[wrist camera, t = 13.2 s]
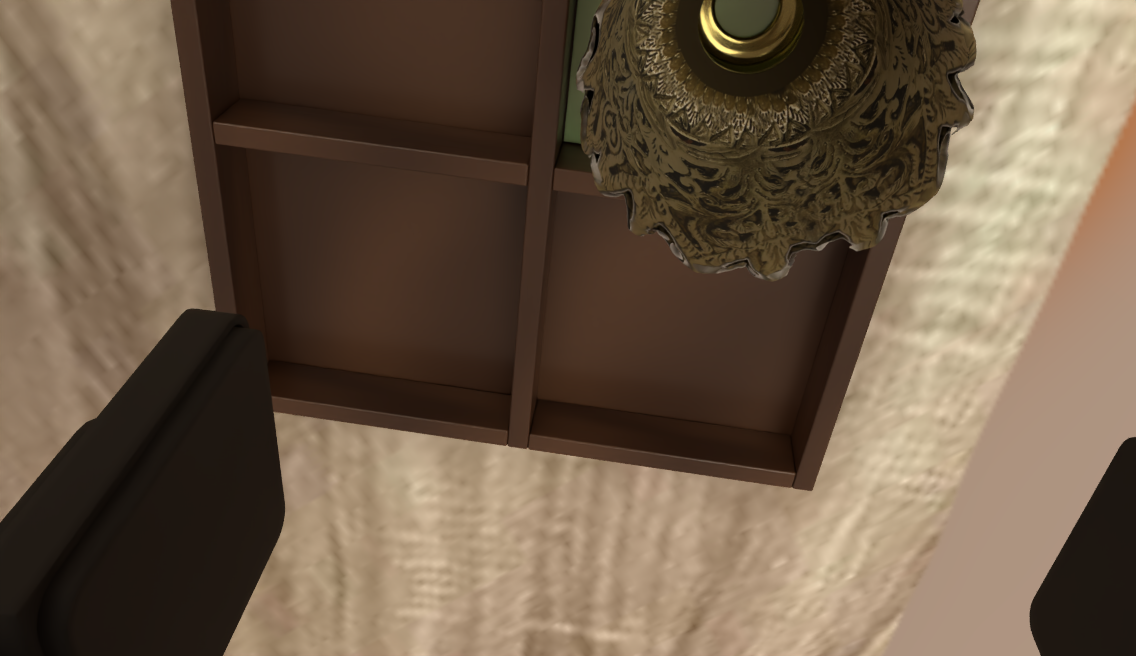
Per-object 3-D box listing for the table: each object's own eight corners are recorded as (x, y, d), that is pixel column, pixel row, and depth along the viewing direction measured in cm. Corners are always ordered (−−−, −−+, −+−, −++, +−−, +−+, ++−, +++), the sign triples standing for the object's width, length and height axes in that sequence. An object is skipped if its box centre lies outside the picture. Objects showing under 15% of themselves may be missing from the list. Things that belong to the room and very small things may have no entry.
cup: (855, -212, 21) (934, -184, 14) (923, 82, 24) (1012, 214, 18) (560, -77, 23) (510, 0, 16) (661, 173, 27) (653, 321, 20)
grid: (258, 362, 33) (229, 406, 31) (180, -300, 22) (124, -303, 20) (804, 441, 32) (812, 492, 30) (1011, -202, 21) (1048, -194, 19)
